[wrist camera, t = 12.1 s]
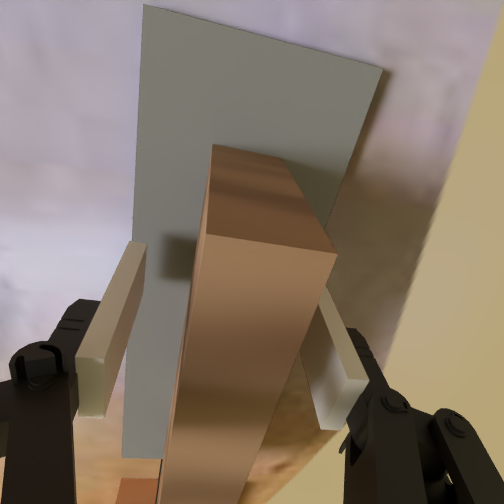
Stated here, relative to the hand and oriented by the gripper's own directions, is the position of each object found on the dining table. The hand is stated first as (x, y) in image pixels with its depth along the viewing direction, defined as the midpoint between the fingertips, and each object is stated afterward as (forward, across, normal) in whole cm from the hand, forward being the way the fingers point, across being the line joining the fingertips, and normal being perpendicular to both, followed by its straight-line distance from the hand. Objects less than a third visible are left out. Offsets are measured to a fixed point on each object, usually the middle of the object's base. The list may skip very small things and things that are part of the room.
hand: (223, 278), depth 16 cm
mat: (+2, 0, -4) cm, 4 cm away
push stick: (+1, 0, -5) cm, 5 cm away
